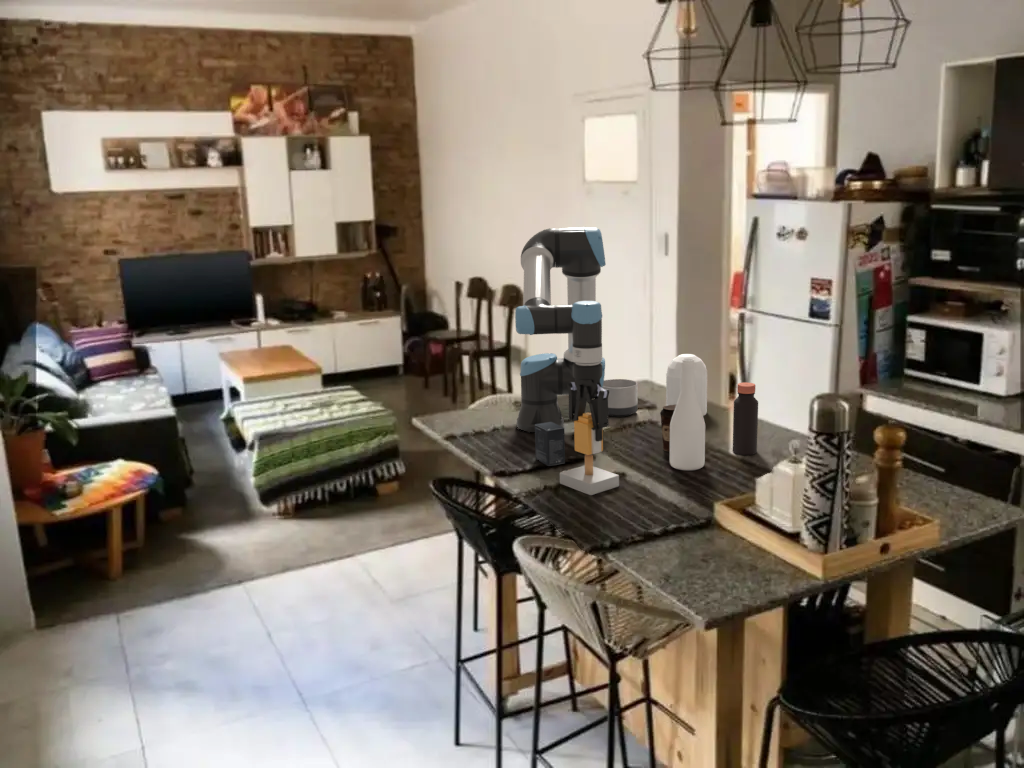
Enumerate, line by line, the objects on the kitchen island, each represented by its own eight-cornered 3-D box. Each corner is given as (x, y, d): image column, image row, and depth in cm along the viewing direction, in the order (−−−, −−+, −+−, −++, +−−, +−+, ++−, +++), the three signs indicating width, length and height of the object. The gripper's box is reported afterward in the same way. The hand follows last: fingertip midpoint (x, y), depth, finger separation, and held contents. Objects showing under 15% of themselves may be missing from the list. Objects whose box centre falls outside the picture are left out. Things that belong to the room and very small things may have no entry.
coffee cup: (688, 455, 259) (689, 411, 255) (659, 454, 260) (659, 410, 257) (689, 445, 267) (689, 403, 264) (660, 445, 268) (660, 402, 265)
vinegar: (758, 449, 261) (760, 382, 256) (754, 456, 255) (756, 388, 250) (735, 447, 264) (736, 380, 259) (730, 454, 258) (731, 386, 253)
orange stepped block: (574, 450, 235) (574, 413, 233) (589, 446, 239) (588, 409, 236) (588, 455, 231) (587, 417, 229) (603, 450, 234) (602, 413, 232)
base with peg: (552, 480, 241) (551, 452, 240) (580, 472, 247) (580, 444, 245) (590, 495, 230) (590, 465, 228) (619, 486, 236) (618, 456, 234)
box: (565, 463, 255) (564, 427, 253) (547, 466, 253) (547, 430, 250) (552, 456, 262) (551, 420, 260) (535, 459, 260) (534, 423, 257)
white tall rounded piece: (684, 473, 243) (685, 365, 236) (662, 464, 252) (663, 358, 244) (711, 467, 248) (713, 360, 240) (689, 458, 256) (691, 354, 249)
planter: (639, 418, 298) (639, 387, 295) (600, 419, 298) (600, 388, 295) (635, 408, 310) (635, 378, 308) (597, 409, 310) (597, 379, 308)
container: (665, 407, 310) (665, 350, 305) (705, 407, 308) (706, 349, 303) (666, 417, 297) (667, 358, 292) (708, 418, 295) (709, 358, 290)
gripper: (553, 359, 235) (555, 445, 240) (601, 370, 220) (602, 461, 226) (574, 355, 239) (576, 439, 244) (623, 365, 225) (623, 454, 230)
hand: (588, 449), depth 235 cm, fingers closed on orange stepped block, 5 cm apart
